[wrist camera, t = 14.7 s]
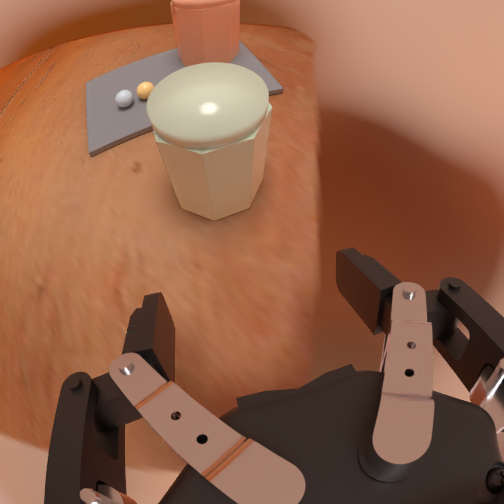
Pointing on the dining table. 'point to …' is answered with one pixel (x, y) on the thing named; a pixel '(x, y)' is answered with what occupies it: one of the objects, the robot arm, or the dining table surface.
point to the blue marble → (124, 98)
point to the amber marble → (144, 90)
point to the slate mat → (135, 115)
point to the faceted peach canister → (206, 30)
